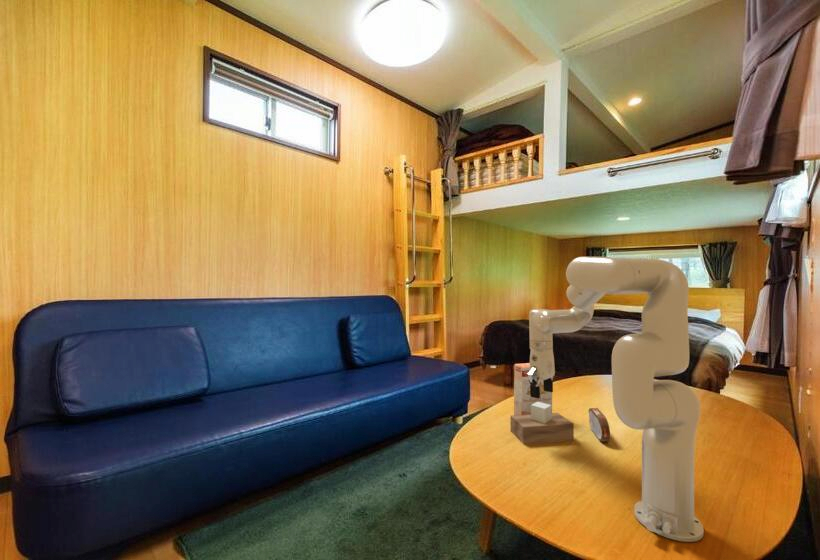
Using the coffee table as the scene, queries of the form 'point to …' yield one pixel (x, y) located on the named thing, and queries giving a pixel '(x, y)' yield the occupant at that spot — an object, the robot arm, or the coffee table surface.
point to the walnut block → (542, 429)
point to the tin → (599, 424)
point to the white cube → (541, 412)
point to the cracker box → (526, 391)
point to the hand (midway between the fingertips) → (541, 394)
